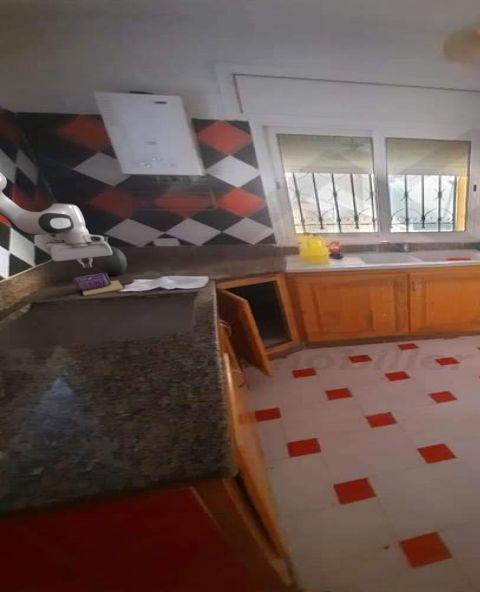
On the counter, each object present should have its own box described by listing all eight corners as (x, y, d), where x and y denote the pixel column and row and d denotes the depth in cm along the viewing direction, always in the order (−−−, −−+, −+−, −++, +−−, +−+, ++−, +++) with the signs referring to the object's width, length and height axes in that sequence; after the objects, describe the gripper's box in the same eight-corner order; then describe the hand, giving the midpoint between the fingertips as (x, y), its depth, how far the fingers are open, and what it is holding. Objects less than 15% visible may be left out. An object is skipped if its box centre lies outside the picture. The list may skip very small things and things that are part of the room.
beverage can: (74, 282, 154) (107, 276, 162) (79, 294, 153) (112, 288, 161) (70, 275, 149) (104, 269, 157) (76, 287, 148) (110, 281, 156)
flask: (106, 279, 173) (91, 239, 165) (99, 274, 182) (84, 236, 175) (133, 275, 182) (120, 236, 174) (125, 270, 191) (113, 234, 184)
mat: (84, 295, 148) (83, 294, 147) (81, 287, 160) (80, 286, 160) (123, 288, 157) (123, 287, 157) (118, 281, 170) (117, 280, 170)
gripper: (43, 242, 139) (56, 272, 143) (107, 236, 153) (116, 264, 158) (43, 240, 143) (55, 270, 147) (106, 235, 157) (115, 262, 162)
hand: (87, 267), depth 153 cm, fingers closed
